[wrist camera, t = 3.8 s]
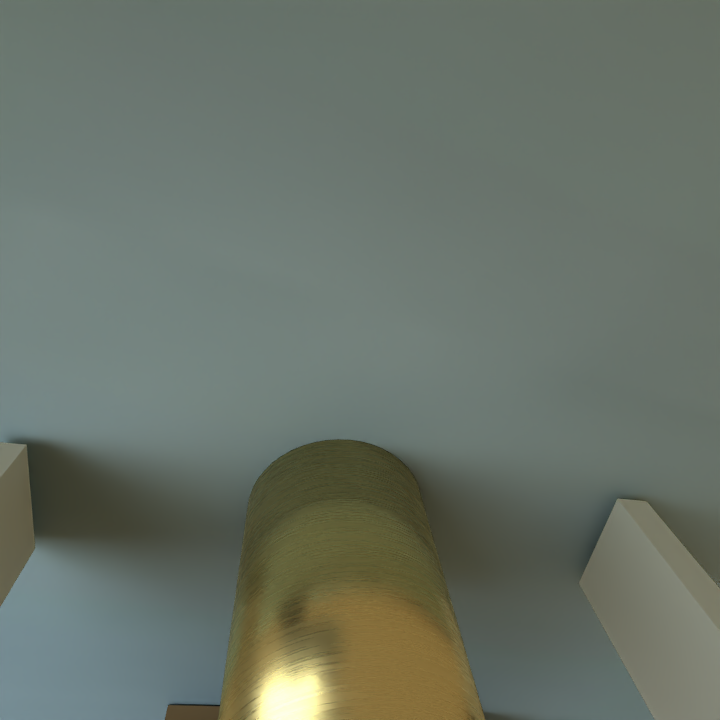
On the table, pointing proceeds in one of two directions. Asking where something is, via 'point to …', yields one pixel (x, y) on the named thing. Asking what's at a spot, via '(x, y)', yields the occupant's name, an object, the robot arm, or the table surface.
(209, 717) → the double roll holder
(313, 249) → the table surface
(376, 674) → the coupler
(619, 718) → the table surface
